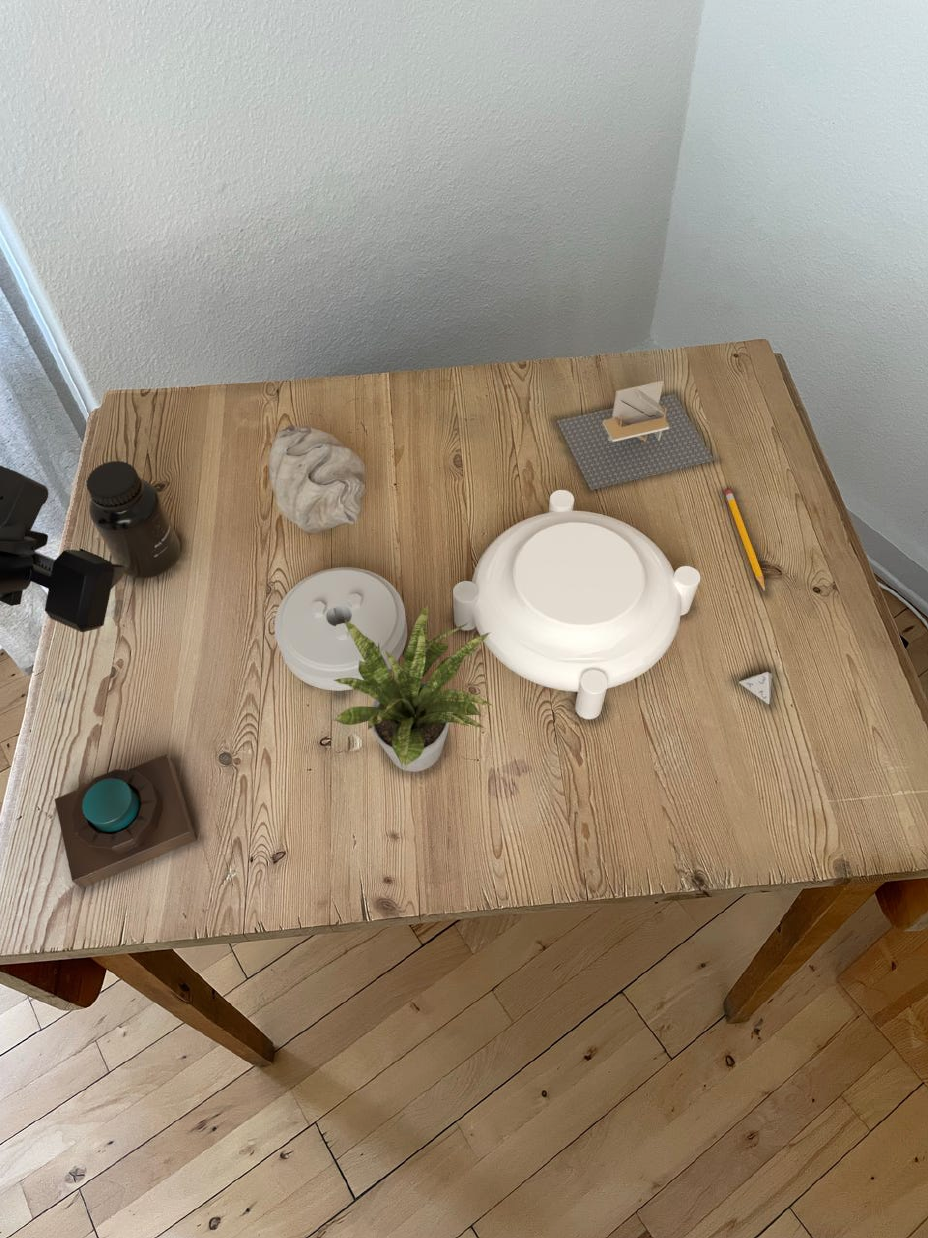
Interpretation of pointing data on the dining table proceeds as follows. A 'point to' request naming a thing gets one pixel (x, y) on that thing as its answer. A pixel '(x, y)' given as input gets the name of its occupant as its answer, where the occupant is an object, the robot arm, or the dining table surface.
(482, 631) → the round stand with pegs
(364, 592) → the lid
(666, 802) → the dining table surface
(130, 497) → the supplement bottle
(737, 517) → the pencil
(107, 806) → the press top
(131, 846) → the button housing
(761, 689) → the tetrahedral die
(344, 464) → the seashell
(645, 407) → the napkin holder
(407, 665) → the house plant
